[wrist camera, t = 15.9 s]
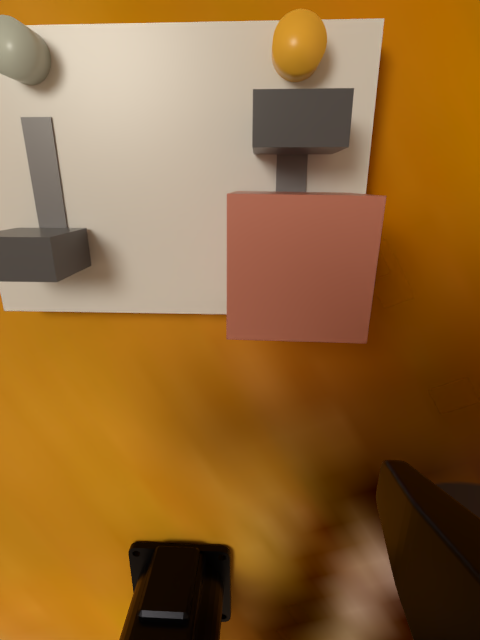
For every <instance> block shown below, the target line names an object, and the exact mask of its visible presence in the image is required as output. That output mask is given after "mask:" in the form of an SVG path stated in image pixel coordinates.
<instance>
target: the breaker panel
mask: <svg viewBox="0 0 480 640" xmlns="http://www.w3.org/2000/svg"><path fill="white" fill-rule="evenodd" d="M383 25H384V19H334V20H321V18H320V17H319V16H318V15H317V14H315V13H314V12H312V11H310V10H307V9H297V10H293V11H291V12H289V13H287V14H286V15H285V16H284V17H283V18H282V19H281V20H280V21H229V22H176V23H123V24H70V25H24V24H22V23H21V22H19V21H18V20H16V19H15V18H13V17H10V16H7V15H0V231H1V230H7V229H13V228H87V235H88V243H89V251H90V258H91V266H90V267H88V268H86V269H84V270H81V271H79V272H77V273H75V274H73V275H71V276H69V277H67V278H65V279H63V280H61V281H59V282H0V293H1V298H2V302H3V307H4V311H53V312H115V313H177V314H227V193H231V192H235V191H275V192H346V193H358V194H366V187H367V178H368V168H369V159H370V149H371V140H372V130H373V121H374V111H375V102H376V92H377V83H378V73H379V63H380V54H381V44H382V35H383ZM316 88H354V95H353V107H352V118H351V129H350V141H349V147H348V148H346V149H343V150H341V151H339V152H336V153H334V154H281V155H254V153H253V148H252V130H253V89H316Z"/></svg>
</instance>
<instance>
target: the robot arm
mask: <svg viewBox="0 0 480 640" xmlns="http://www.w3.org/2000/svg"><path fill="white" fill-rule="evenodd" d="M376 502H377V508H378V512H379V516H380V521H381V525H382V529H383V534H384V538H385V542H386V547H387V551H388V555H389V560H390V564H391V569H392V573H393V577H394V581H395V585H396V588H397V591H398V594H399V598H400V601H401V604H402V607H403V610H404V613H405V616H406V619H407V622H408V624H409V627H410V630H411V633H412V636H413V639H414V640H480V518H479V517H477V516H476V515H475V514H473V513H472V512H471V511H469V510H468V509H467V508H465V507H464V506H463V505H461V504H460V503H459V502H458V501H456V500H455V499H454V498H452V497H451V496H450V495H448V494H447V493H446V492H444V491H443V490H442V489H441V488H439V487H438V486H437V485H435V484H434V483H433V482H431V481H430V480H429V479H427V478H426V477H425V476H423V475H422V474H421V473H420V472H418V471H417V470H416V469H414V468H413V467H412V466H410V465H409V464H408V463H406V462H404V461H398V460H385V461H383V462H382V464H381V468H380V474H379V480H378V486H377V492H376ZM129 561H130V568H131V576H132V584H133V591H134V594H133V597H132V601H131V604H130V607H129V610H128V614H127V617H126V620H125V623H124V627H123V630H122V633H121V636H120V640H219V639H220V628H221V622H226V621H228V620H229V619H230V616H231V582H230V550H229V549H228V548H227V547H225V546H210V545H187V544H164V543H141V542H136V543H133V544H132V545H131V547H130V549H129Z"/></svg>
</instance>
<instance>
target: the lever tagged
mask: <svg viewBox="0 0 480 640" xmlns="http://www.w3.org/2000/svg"><path fill="white" fill-rule="evenodd" d="M353 95H354V88H316V89H253V130H252V148H253V153H254V155H281V154H334V153H336V152H339V151H341V150H343V149H346V148H348V147H349V141H350V129H351V118H352V107H353Z"/></svg>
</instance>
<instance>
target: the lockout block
mask: <svg viewBox="0 0 480 640" xmlns="http://www.w3.org/2000/svg"><path fill="white" fill-rule="evenodd" d="M385 202H386V196H381V195H369V194H358V193H346V192H275V191H235V192H231V193H227V339H235V340H268V341H301V342H334V343H367V337H368V329H369V322H370V314H371V307H372V299H373V292H374V284H375V277H376V270H377V262H378V255H379V247H380V240H381V232H382V225H383V217H384V210H385Z"/></svg>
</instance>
